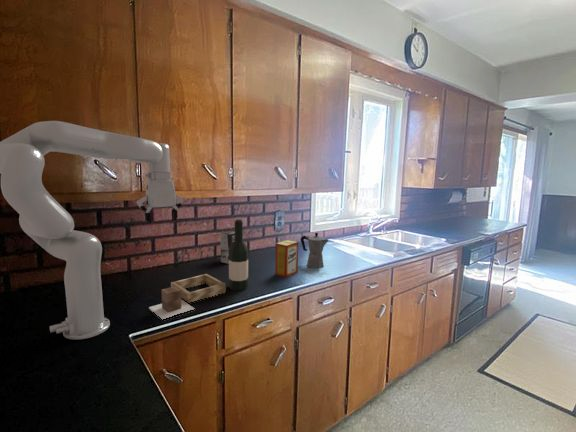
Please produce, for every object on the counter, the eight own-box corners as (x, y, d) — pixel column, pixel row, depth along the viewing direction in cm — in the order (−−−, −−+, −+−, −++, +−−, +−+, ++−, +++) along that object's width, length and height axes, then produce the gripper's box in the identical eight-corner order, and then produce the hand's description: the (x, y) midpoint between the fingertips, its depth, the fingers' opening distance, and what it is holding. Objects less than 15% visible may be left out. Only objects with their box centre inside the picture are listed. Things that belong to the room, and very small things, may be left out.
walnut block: (168, 312, 113) (167, 293, 112) (162, 307, 117) (161, 289, 116) (181, 308, 117) (180, 290, 116) (175, 303, 120) (174, 286, 119)
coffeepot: (329, 264, 173) (331, 232, 170) (324, 270, 165) (326, 235, 162) (302, 260, 179) (304, 229, 176) (296, 265, 171) (297, 232, 168)
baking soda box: (285, 277, 153) (286, 244, 150) (275, 274, 156) (275, 242, 154) (297, 272, 160) (298, 241, 157) (287, 269, 164) (287, 239, 161)
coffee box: (229, 264, 170) (229, 234, 167) (220, 262, 173) (220, 233, 171) (240, 260, 178) (240, 231, 175) (231, 258, 181) (231, 230, 178)
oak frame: (188, 303, 122) (188, 294, 121) (171, 291, 133) (170, 282, 132) (225, 292, 133) (225, 283, 132) (206, 282, 144) (206, 273, 143)
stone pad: (162, 320, 109) (162, 319, 108) (148, 308, 117) (148, 307, 117) (194, 310, 117) (194, 308, 117) (180, 299, 125) (179, 298, 125)
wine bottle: (229, 291, 135) (229, 221, 130) (228, 284, 143) (227, 217, 138) (249, 289, 137) (250, 220, 132) (246, 282, 145) (247, 217, 140)
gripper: (138, 177, 112) (141, 225, 115) (186, 176, 123) (187, 220, 126) (132, 176, 117) (135, 222, 120) (178, 175, 129) (179, 217, 131)
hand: (161, 221), depth 123 cm, fingers open, 9 cm apart
